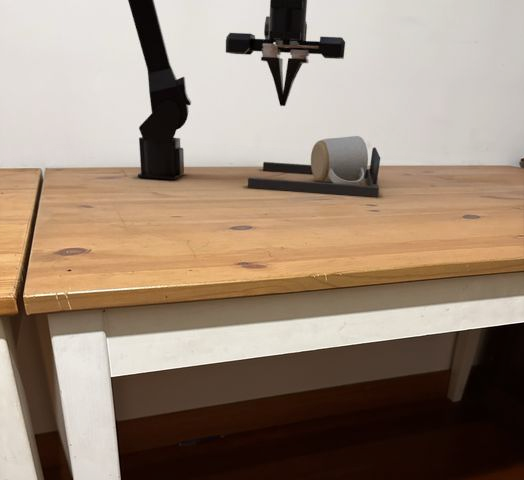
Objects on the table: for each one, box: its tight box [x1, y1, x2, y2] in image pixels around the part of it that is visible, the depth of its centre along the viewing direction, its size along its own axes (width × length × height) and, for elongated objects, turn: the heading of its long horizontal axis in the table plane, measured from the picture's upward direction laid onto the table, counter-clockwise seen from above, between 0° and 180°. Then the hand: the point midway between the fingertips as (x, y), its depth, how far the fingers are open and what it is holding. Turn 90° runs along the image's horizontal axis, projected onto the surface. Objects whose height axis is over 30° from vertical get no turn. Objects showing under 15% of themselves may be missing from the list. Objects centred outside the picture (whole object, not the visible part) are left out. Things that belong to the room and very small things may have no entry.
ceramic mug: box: [310, 135, 369, 185], centre depth 90 cm, size 11×8×8 cm
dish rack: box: [247, 146, 381, 198], centre depth 91 cm, size 21×19×6 cm
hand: (282, 105), depth 88 cm, fingers closed
